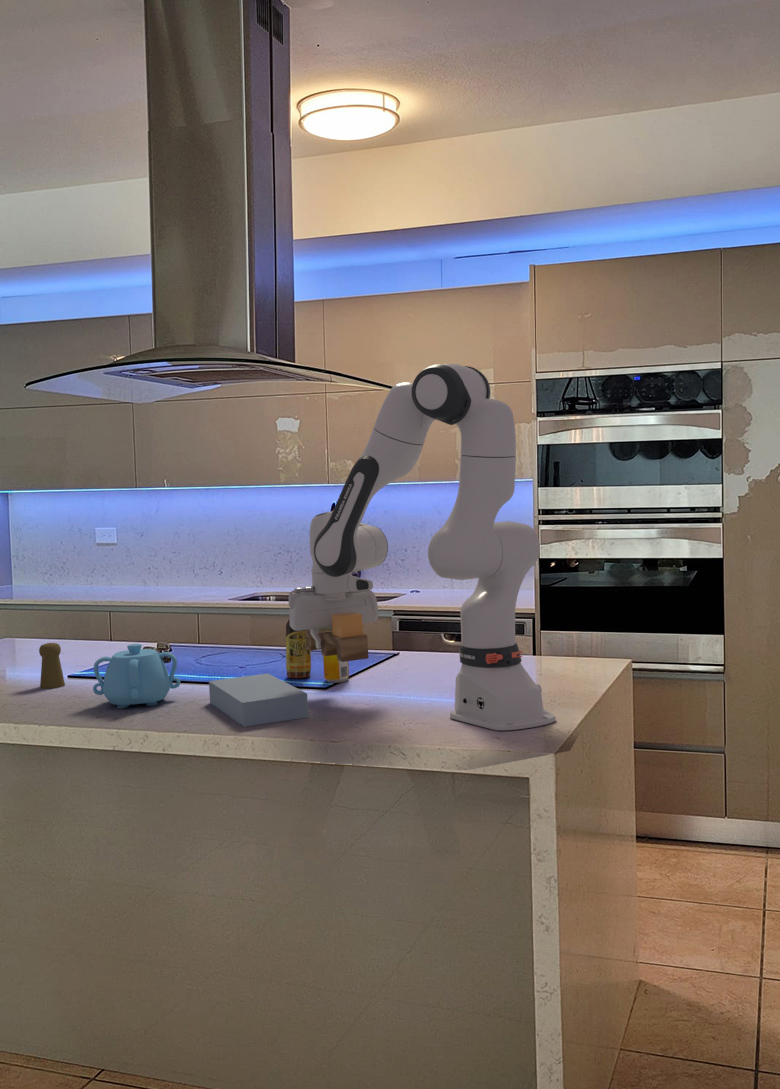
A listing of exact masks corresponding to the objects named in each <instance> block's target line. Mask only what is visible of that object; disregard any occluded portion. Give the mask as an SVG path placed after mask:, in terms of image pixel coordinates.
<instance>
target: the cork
mask: <svg viewBox="0 0 780 1089" xmlns="http://www.w3.org/2000/svg"><path fill="white" fill-rule="evenodd" d="M61 650H62V647H61V645H60V644H59V643H57V642H48V643H47V642H46V643H44V644H41V645H40V647H39V649H38V651H39V656H40V657H41V668H40V682H39V684H40V685H39V688H40V689H42V690H43V689H44V690H51V689H58V688H63V687H65V686H66V683H65V679H64V673H63V670H62V664H61V661H60V654H61V652H62V651H61Z"/></svg>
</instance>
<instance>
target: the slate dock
mask: <svg viewBox="0 0 780 1089" xmlns="http://www.w3.org/2000/svg"><path fill="white" fill-rule="evenodd" d="M208 687H209V688H208V689H209V690H208V691H209V704H211V705H212V706H213V707H215V708H217V709H218V710H219V711H221V712H222V713H224V714H225V715H226V716H228V717H229V718H230V719H232V720H233V721H235V722H236V723H238V724H239V725H240V726H242V727H243V728H246V727H252V726H258V725H264V724H271V723H272V724H273V723H278V722H285V721H291V720H292V721H293V720H297V719H305V718H309V707H308V706H309V705H308V704H309V702H308V701H309V700H308V693H307V692H305V691H303V690H301V689H300V688H297V687H296V686H294V685H291V684H289V683H287V682H285V681H283V679H280V678H278V677H276V676H274V675H272V674H270V673H260V674H255V675H254V674H253V675H245V676H240V677H239V676H238V677H231V678H224V679H215V680H208Z"/></svg>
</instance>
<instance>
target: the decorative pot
mask: <svg viewBox="0 0 780 1089" xmlns="http://www.w3.org/2000/svg"><path fill="white" fill-rule="evenodd" d="M163 657H168V658H170V659H171V660H172V663H171V664H172V665H171V670H170V673H169V671H168V669H167V666H166V664H165V662H164V660H163V659H162V658H163ZM104 662H108V665H107V667H106V670H105V673H104V678H102V676H101V674H100V670H99V665H100V664H101V663H104ZM177 667H178V660H177V657H176V656H175V655H174V654H173V653H171V652H168V651H163V652H158V651H157V650H156V649H153V648H145V649H142V644H141V643H132V644H128V645H127V650H122V651H118V652H115V653H113V655H112V656H103V657H100V658H98V659H97V660H95V662H94V664H93V672H94V676H95V678H96V680H97V681H98V682H97V683H95V684H94V685H93V686H92V691H93V693H94V694H95V695H98V696H103V695H104V697H105V698H106V699H107V701H108V702H109V703H110V704H111V705H116V706H117V709H125V708H129V707H130V705H139V704H140V705H141V704H145V706H149V707H150V706H151V707H152V706H153V707H154V706H156V705H158V701H161V700H163V699H165V698H166V697H167V695H168V694H169V691H170V689H177V688H179V687H180V685H181V679H180V678H179V677H177V676H175V673H176V672H177V671H176V670H177ZM173 681H175V682H176V683H173ZM98 687H100V690H98V689H97V688H98Z"/></svg>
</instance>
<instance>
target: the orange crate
mask: <svg viewBox="0 0 780 1089" xmlns="http://www.w3.org/2000/svg"><path fill="white" fill-rule="evenodd" d="M363 624H364V623H362V614H359V613H355V612H349V613H341V614H332V629H333V635H334V636H337V637H341V638H343V637H352V636H360V635H363V634H364V627H363V626H364V625H363Z"/></svg>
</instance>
